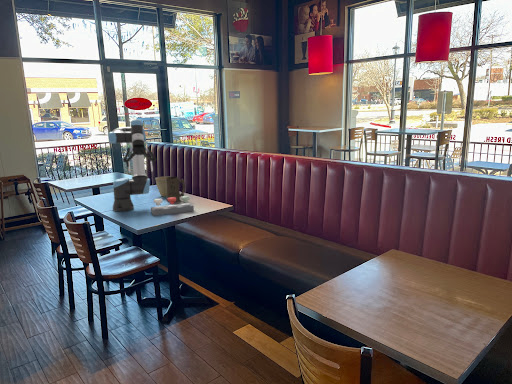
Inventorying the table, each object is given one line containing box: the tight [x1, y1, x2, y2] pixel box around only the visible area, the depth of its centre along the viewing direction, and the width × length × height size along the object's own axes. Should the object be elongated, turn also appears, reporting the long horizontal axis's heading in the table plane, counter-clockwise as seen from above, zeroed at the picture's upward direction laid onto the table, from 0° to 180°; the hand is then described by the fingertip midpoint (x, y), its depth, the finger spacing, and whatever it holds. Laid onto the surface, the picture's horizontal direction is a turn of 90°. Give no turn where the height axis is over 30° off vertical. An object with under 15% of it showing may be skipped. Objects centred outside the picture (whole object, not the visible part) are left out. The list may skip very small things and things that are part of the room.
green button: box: [180, 195, 191, 203], centre depth 276 cm, size 6×6×4 cm
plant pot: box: [155, 176, 168, 197], centre depth 328 cm, size 15×15×16 cm
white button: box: [153, 198, 163, 207], centre depth 268 cm, size 6×6×4 cm
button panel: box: [150, 202, 195, 217], centre depth 273 cm, size 29×10×4 cm, turn 115°
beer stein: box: [166, 176, 186, 203], centre depth 308 cm, size 15×11×20 cm
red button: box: [167, 197, 176, 205], centre depth 272 cm, size 6×6×4 cm
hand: (141, 171), depth 236 cm, fingers open, 13 cm apart
